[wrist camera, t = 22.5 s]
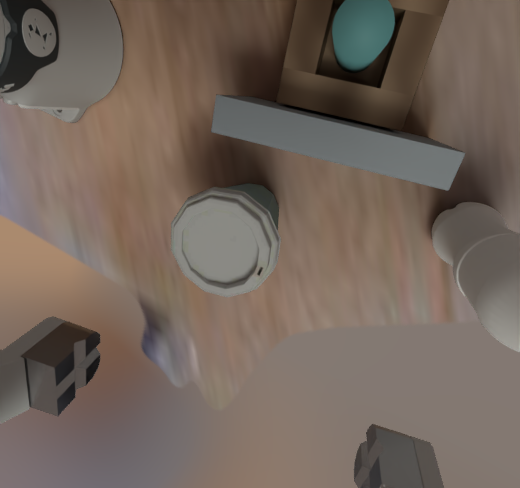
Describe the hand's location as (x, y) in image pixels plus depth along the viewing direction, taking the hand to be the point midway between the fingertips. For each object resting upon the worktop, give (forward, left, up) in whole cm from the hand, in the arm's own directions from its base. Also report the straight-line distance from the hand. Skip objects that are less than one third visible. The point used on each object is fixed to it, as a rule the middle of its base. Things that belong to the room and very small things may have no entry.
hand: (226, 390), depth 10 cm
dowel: (+1, +13, -32) cm, 35 cm away
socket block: (+1, +13, -34) cm, 36 cm away
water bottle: (+18, -2, -34) cm, 39 cm away
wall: (+1, +5, -34) cm, 34 cm away
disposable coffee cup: (-6, -6, -34) cm, 35 cm away
